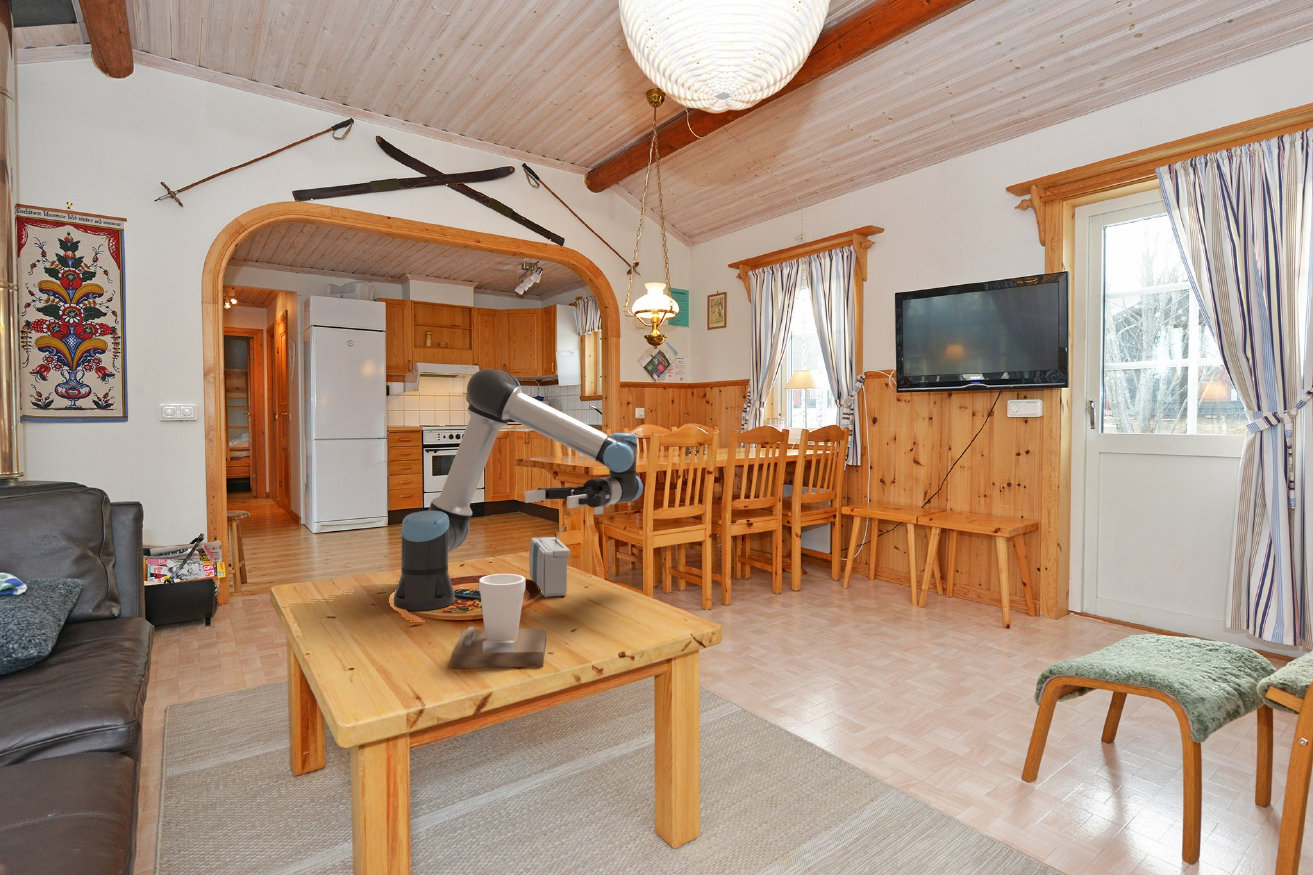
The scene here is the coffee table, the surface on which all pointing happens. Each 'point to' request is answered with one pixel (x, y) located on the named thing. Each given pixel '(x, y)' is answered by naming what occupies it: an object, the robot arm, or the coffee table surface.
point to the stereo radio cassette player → (549, 565)
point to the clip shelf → (499, 650)
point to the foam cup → (501, 605)
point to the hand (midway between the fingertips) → (546, 499)
